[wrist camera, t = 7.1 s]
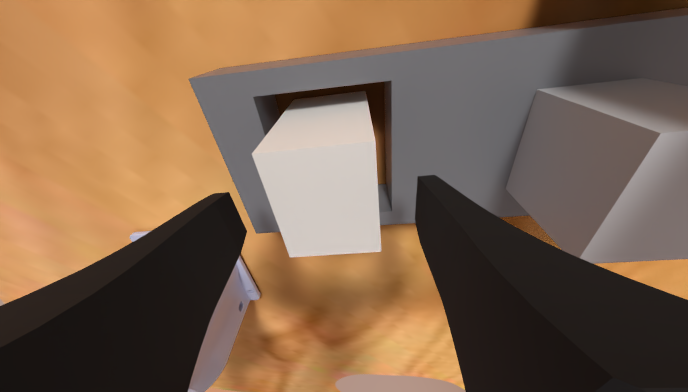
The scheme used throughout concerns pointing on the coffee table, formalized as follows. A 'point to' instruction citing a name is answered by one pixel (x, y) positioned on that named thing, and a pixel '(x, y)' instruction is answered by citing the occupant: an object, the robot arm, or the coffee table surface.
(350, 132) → the plug
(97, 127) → the coffee table surface
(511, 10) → the coffee table surface
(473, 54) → the power strip
